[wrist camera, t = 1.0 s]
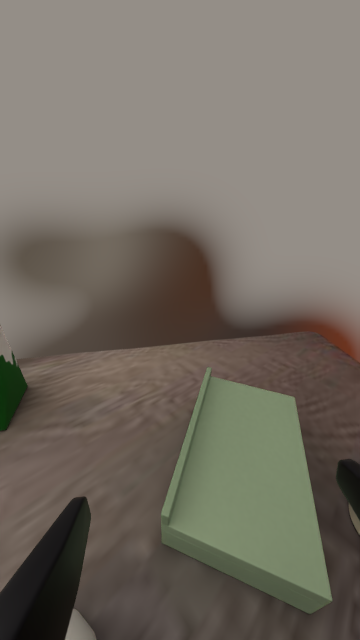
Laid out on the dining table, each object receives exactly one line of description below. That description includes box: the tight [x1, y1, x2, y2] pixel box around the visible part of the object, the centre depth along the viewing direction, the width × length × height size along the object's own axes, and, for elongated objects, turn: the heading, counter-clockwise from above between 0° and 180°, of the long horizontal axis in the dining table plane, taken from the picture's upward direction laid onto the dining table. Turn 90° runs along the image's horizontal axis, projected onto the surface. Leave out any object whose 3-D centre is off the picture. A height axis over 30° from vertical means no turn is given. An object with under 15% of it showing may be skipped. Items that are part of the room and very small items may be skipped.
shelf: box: [161, 367, 332, 614], centre depth 21 cm, size 16×11×6 cm
